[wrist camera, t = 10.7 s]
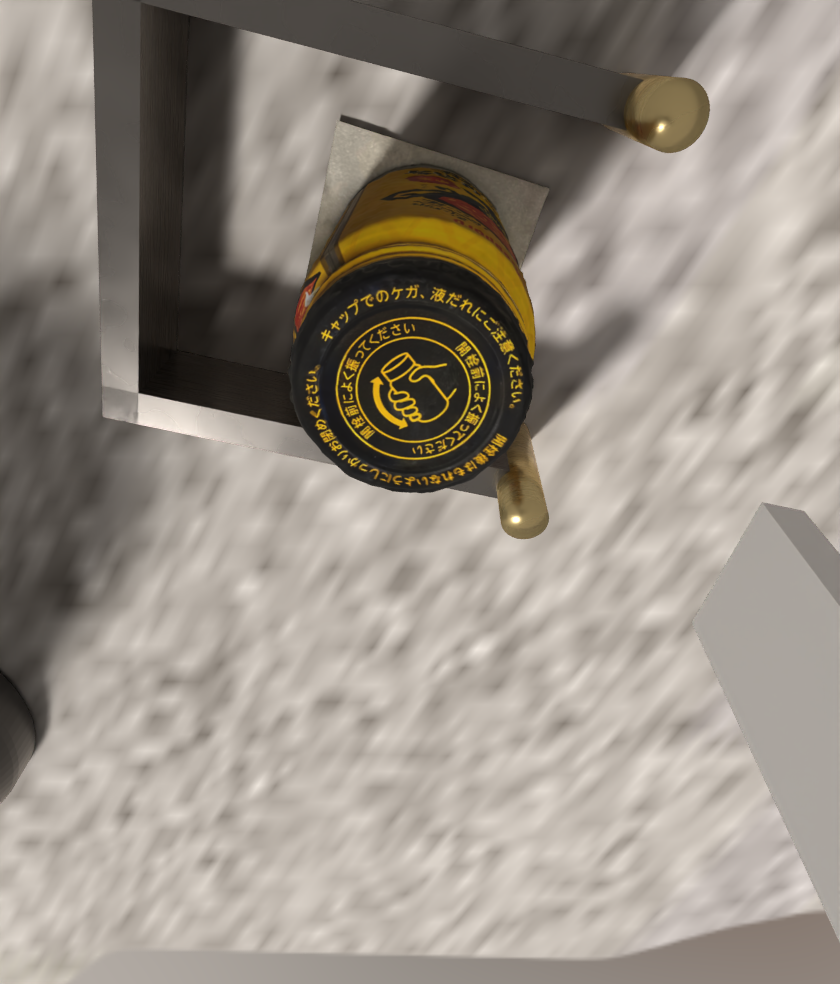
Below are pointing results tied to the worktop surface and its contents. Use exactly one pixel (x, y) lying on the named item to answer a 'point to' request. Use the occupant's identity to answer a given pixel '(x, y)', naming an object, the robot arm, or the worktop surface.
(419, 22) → the grey open rectangular box
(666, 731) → the worktop surface
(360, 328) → the condiment
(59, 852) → the worktop surface
